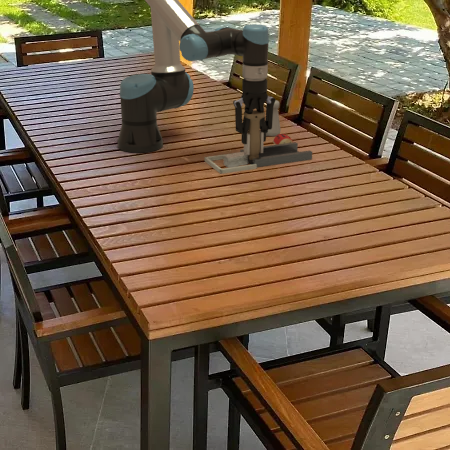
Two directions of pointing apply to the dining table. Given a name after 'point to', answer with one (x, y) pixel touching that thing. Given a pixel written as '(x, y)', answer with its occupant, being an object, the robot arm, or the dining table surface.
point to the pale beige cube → (242, 158)
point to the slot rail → (280, 155)
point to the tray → (226, 170)
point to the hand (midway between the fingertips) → (253, 152)
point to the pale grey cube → (231, 160)
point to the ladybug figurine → (282, 139)
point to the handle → (254, 132)
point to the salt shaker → (275, 121)
